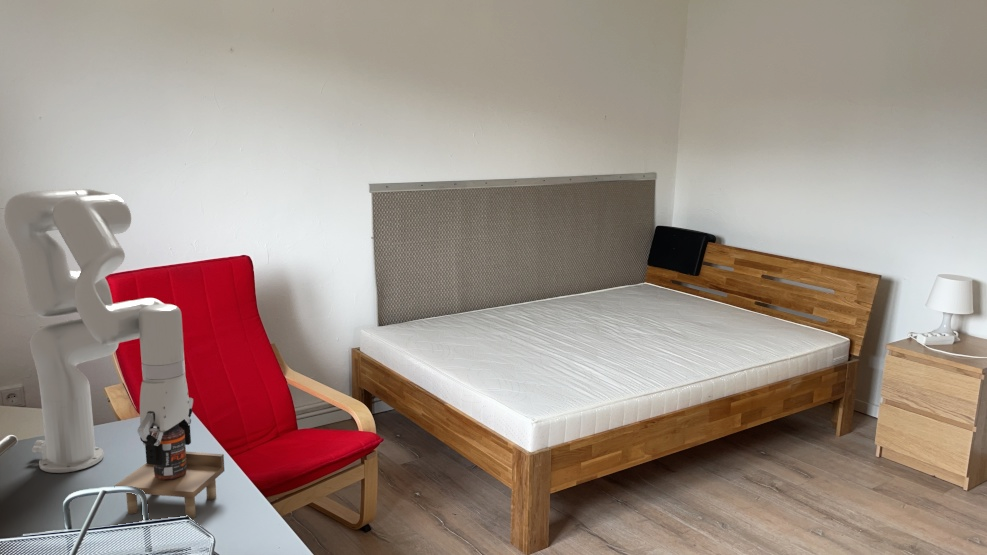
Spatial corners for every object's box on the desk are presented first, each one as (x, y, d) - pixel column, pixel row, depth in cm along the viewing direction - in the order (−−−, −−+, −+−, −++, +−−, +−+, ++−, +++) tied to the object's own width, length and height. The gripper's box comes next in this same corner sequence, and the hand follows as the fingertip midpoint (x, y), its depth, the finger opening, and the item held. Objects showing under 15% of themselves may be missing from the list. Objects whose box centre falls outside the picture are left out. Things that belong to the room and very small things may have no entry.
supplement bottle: (176, 482, 148) (172, 426, 146) (147, 479, 149) (143, 424, 147) (193, 469, 154) (189, 415, 152) (166, 467, 155) (162, 413, 153)
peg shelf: (116, 515, 147) (113, 473, 146) (153, 488, 159) (150, 448, 158) (195, 522, 145) (192, 480, 144) (225, 494, 157) (223, 454, 155)
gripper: (170, 355, 156) (175, 435, 159) (117, 382, 139) (124, 471, 142) (205, 357, 155) (209, 438, 158) (156, 384, 138) (162, 473, 141)
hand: (169, 453), depth 150 cm, fingers open, 9 cm apart
